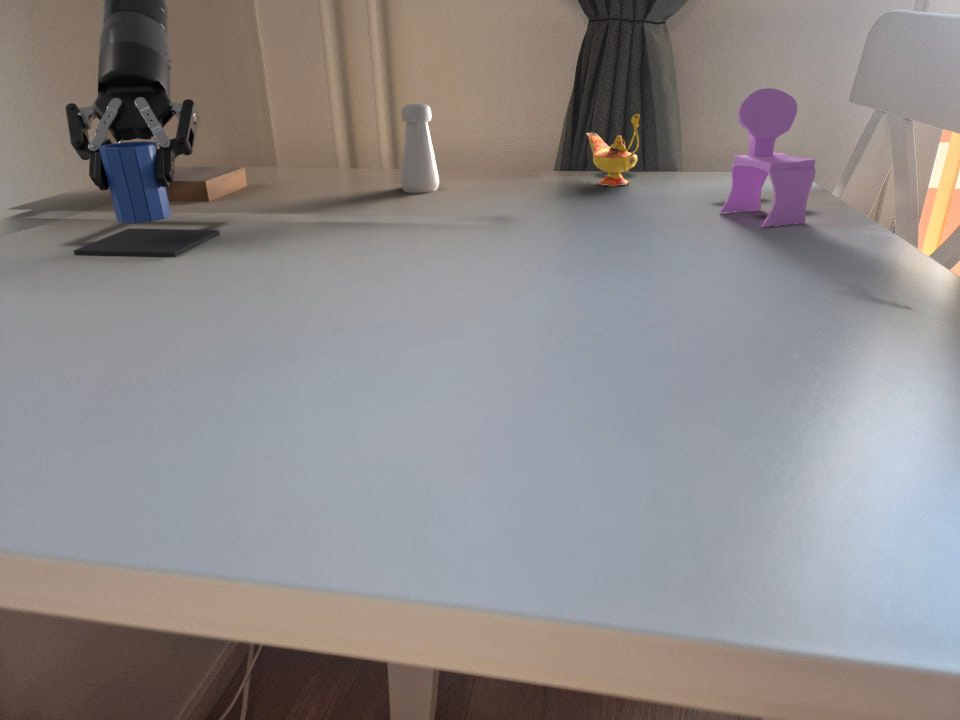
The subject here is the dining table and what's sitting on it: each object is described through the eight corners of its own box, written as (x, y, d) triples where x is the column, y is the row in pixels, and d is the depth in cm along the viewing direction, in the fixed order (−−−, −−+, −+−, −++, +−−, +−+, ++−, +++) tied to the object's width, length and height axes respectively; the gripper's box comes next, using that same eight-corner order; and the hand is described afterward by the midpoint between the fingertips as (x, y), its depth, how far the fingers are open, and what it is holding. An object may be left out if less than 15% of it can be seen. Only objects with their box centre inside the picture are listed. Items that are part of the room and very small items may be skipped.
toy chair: (758, 229, 80) (779, 92, 73) (712, 214, 87) (727, 89, 81) (815, 223, 82) (840, 89, 76) (765, 208, 89) (784, 86, 83)
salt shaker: (430, 202, 97) (425, 106, 92) (394, 200, 99) (387, 105, 93) (446, 194, 102) (442, 102, 97) (411, 192, 104) (406, 102, 98)
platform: (132, 209, 97) (125, 180, 95) (177, 192, 108) (172, 166, 106) (210, 209, 95) (205, 181, 94) (248, 193, 106) (244, 167, 104)
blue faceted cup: (107, 223, 75) (87, 148, 72) (137, 211, 80) (120, 141, 77) (153, 223, 75) (136, 148, 71) (180, 212, 80) (165, 141, 76)
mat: (74, 254, 75) (73, 250, 75) (128, 232, 84) (127, 228, 84) (174, 257, 73) (173, 252, 73) (219, 234, 82) (218, 230, 82)
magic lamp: (604, 171, 118) (608, 104, 113) (655, 190, 102) (662, 112, 98) (567, 174, 116) (570, 106, 112) (614, 193, 101) (619, 114, 96)
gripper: (54, 40, 75) (45, 167, 70) (190, 37, 77) (192, 159, 72) (83, 89, 82) (76, 208, 76) (207, 85, 84) (209, 200, 79)
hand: (132, 184), depth 74 cm, fingers closed on blue faceted cup, 5 cm apart
